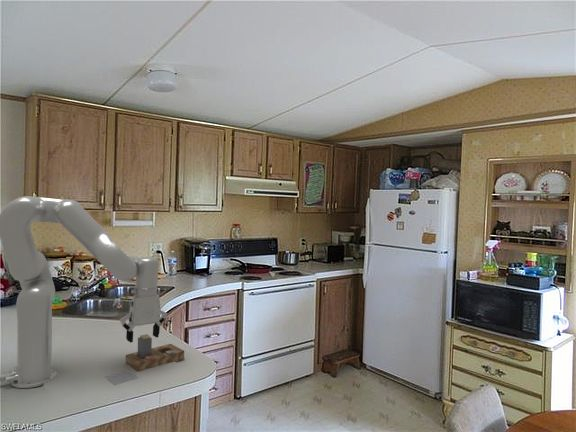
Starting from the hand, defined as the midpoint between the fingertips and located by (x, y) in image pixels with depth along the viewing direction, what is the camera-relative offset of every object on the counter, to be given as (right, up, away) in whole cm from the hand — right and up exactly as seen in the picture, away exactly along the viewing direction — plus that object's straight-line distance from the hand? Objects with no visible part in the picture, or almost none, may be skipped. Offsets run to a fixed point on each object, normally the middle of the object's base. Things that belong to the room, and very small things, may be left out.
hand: (142, 338), depth 145 cm
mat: (-3, -10, -11) cm, 15 cm away
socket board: (+3, -10, +3) cm, 11 cm away
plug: (0, -10, 0) cm, 10 cm away
